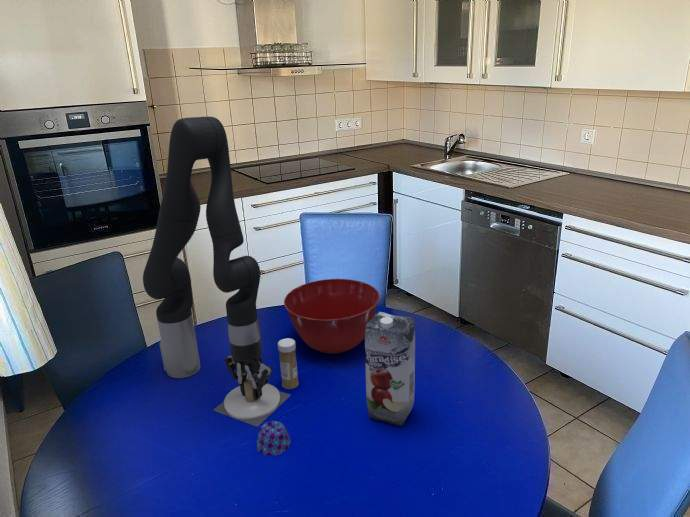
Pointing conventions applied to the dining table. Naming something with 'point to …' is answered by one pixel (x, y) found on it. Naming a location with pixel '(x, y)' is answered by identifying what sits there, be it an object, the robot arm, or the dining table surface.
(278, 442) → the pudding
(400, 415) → the juice carton
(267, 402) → the lid
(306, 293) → the mixing bowl
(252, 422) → the mat
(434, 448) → the dining table surface
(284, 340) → the sprinkles bottle
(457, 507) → the dining table surface
